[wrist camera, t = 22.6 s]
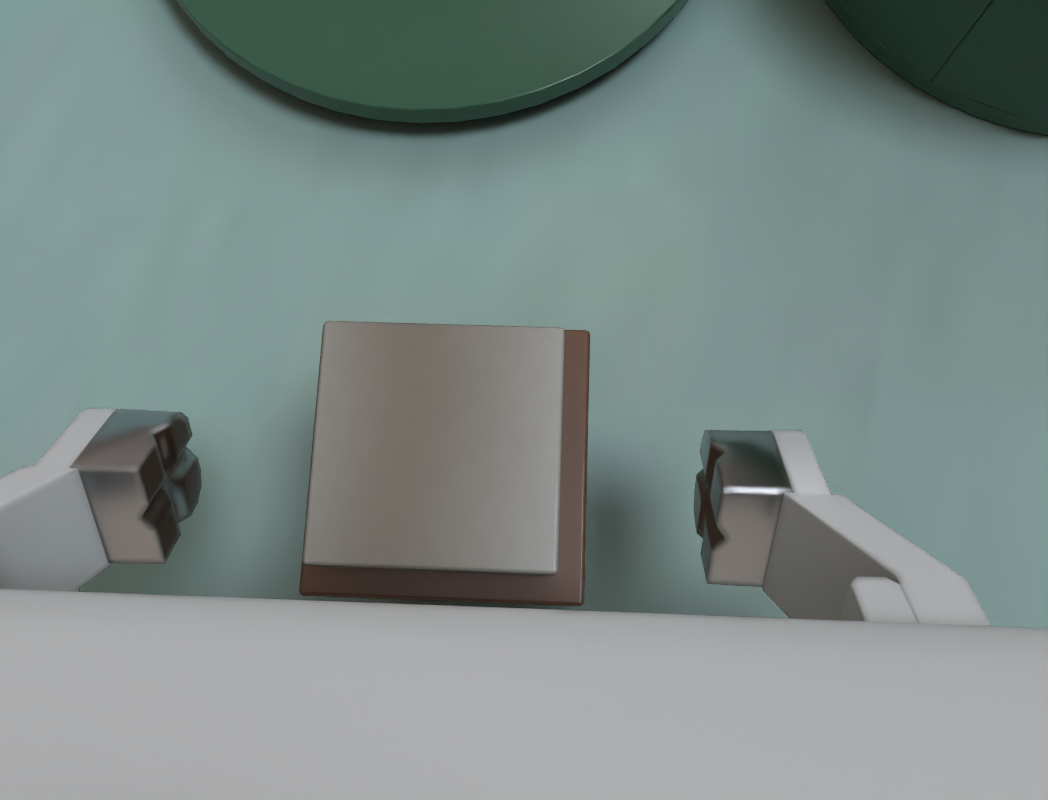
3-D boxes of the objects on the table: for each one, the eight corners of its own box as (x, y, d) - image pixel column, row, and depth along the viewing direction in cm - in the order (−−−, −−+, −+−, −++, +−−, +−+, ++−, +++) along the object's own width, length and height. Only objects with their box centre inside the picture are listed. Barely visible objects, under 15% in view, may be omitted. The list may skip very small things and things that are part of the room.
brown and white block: (574, 415, 19) (595, 298, 12) (570, 600, 18) (589, 609, 11) (395, 410, 19) (296, 290, 12) (383, 592, 19) (266, 595, 11)
